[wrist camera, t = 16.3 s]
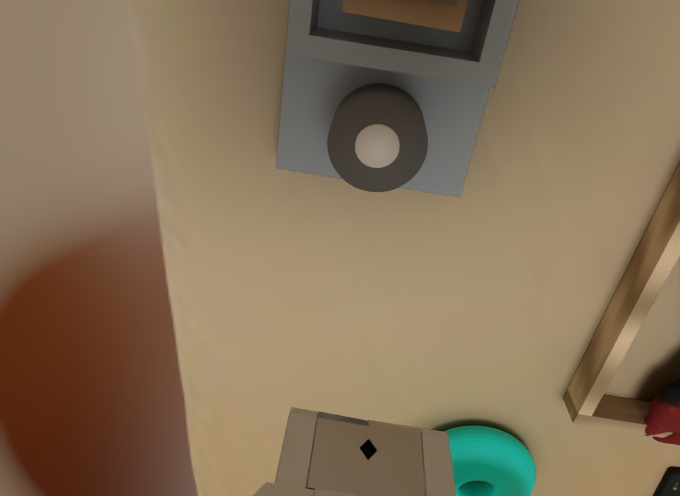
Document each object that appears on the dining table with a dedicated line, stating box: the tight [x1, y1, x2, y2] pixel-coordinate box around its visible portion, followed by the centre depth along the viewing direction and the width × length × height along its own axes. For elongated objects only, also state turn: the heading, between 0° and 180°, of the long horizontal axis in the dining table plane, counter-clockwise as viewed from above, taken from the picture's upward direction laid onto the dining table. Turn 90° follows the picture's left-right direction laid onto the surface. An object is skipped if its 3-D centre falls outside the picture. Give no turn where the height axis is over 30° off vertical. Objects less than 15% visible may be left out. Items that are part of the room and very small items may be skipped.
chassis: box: [276, 0, 519, 197], centre depth 26 cm, size 17×11×5 cm, turn 172°
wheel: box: [327, 83, 428, 192], centre depth 27 cm, size 5×5×3 cm
